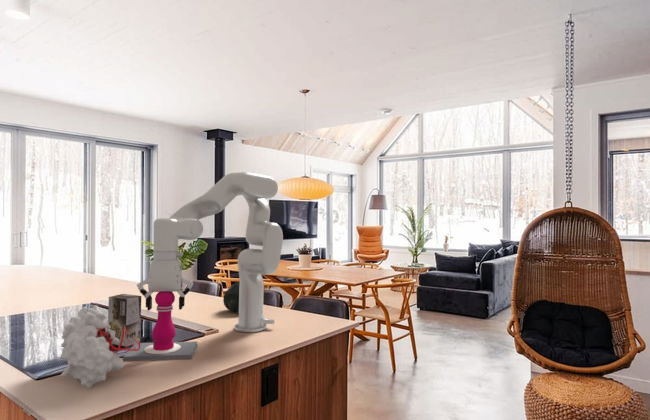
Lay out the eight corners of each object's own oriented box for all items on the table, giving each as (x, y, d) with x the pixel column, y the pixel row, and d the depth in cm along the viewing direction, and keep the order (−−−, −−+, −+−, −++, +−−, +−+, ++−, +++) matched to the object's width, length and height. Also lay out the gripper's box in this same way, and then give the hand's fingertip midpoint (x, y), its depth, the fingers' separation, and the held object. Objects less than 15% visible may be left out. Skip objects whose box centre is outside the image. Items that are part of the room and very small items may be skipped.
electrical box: (141, 342, 147) (142, 295, 147) (125, 347, 141) (126, 298, 141) (122, 338, 151) (124, 293, 151) (106, 343, 145) (108, 296, 145)
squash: (250, 295, 210) (233, 274, 204) (266, 301, 199) (248, 279, 192) (230, 316, 203) (211, 295, 197) (245, 324, 192) (226, 302, 185)
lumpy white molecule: (134, 393, 122) (97, 332, 134) (161, 346, 118) (120, 287, 129) (63, 418, 105) (26, 345, 117) (91, 364, 101) (50, 294, 112)
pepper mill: (179, 345, 140) (181, 284, 141) (168, 351, 133) (170, 287, 134) (158, 343, 141) (160, 283, 141) (147, 350, 134) (149, 287, 134)
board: (197, 344, 145) (197, 340, 145) (191, 358, 132) (191, 353, 132) (135, 346, 142) (135, 342, 142) (123, 360, 128) (123, 356, 128)
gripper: (194, 254, 143) (194, 305, 143) (140, 255, 140) (140, 307, 140) (191, 257, 135) (191, 310, 135) (134, 258, 132) (133, 312, 132)
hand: (165, 309), depth 138 cm, fingers open, 9 cm apart
